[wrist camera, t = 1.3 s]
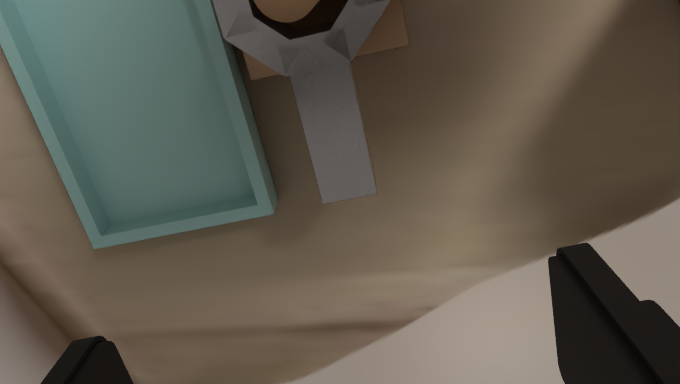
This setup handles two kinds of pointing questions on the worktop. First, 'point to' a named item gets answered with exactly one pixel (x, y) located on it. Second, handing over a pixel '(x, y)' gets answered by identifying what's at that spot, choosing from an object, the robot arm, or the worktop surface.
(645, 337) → the robot arm
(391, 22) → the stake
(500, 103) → the worktop surface
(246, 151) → the tray
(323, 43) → the wrench
